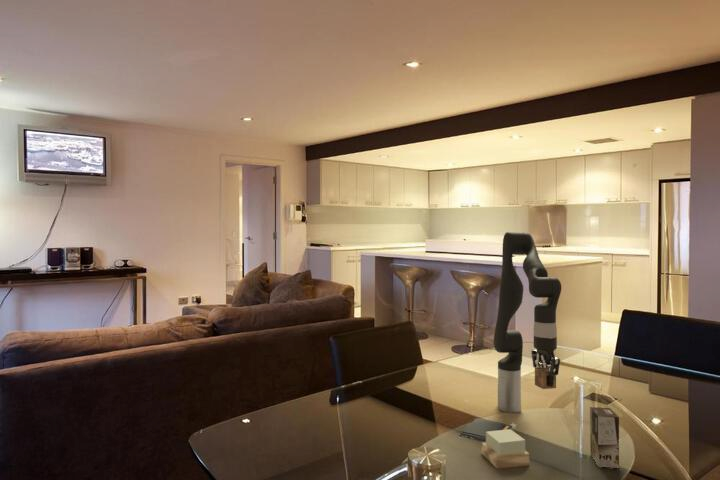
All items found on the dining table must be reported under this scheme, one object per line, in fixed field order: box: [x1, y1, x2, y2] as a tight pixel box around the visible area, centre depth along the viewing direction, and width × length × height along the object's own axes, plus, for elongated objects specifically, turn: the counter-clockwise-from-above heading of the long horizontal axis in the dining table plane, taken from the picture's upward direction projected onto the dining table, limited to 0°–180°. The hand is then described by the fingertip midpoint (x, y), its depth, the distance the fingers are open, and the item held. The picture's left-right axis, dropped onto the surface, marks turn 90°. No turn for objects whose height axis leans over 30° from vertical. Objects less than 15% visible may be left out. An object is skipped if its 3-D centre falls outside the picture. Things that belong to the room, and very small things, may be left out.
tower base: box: [480, 441, 530, 469], centre depth 155 cm, size 11×11×4 cm
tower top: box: [486, 428, 526, 455], centre depth 154 cm, size 9×9×4 cm
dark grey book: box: [460, 417, 513, 442], centre depth 178 cm, size 20×2×15 cm
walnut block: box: [534, 367, 557, 390], centre depth 165 cm, size 5×5×6 cm
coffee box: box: [589, 406, 620, 469], centre depth 152 cm, size 9×6×16 cm
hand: (545, 383), depth 165 cm, fingers closed on walnut block, 5 cm apart
